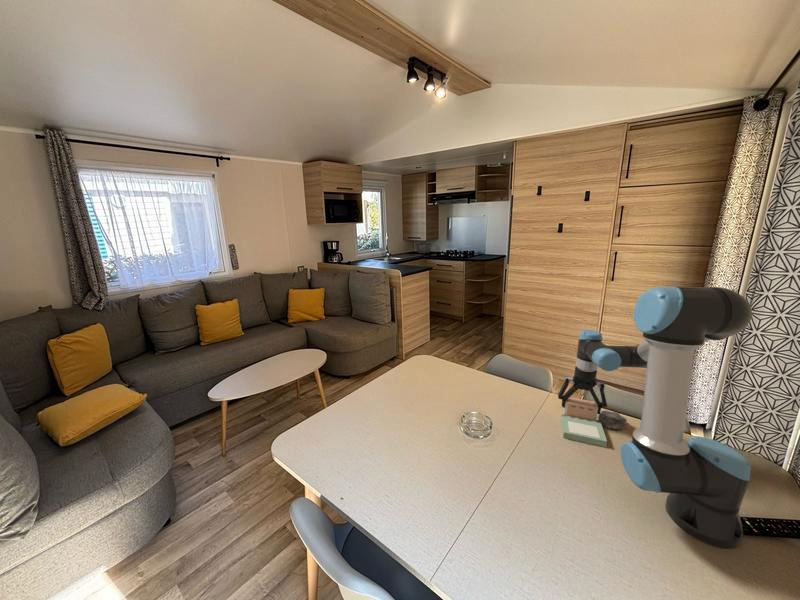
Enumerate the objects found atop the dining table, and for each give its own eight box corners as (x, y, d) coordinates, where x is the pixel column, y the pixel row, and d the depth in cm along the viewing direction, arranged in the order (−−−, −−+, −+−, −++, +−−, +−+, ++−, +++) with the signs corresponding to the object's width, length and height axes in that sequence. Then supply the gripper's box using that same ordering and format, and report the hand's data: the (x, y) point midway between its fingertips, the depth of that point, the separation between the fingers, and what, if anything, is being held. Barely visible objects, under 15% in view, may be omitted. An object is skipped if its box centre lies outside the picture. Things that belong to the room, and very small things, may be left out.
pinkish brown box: (593, 425, 125) (596, 408, 123) (566, 420, 129) (568, 402, 127) (591, 418, 130) (594, 401, 128) (565, 413, 134) (567, 396, 132)
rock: (627, 423, 127) (629, 415, 126) (616, 434, 121) (617, 425, 120) (603, 413, 134) (605, 405, 133) (591, 422, 128) (593, 414, 127)
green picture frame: (606, 447, 114) (607, 441, 113) (563, 437, 119) (563, 431, 118) (599, 427, 124) (600, 422, 124) (560, 419, 130) (561, 414, 129)
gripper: (617, 368, 123) (609, 417, 128) (554, 359, 132) (549, 406, 137) (622, 377, 116) (613, 428, 122) (555, 367, 125) (549, 416, 130)
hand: (579, 416), depth 129 cm, fingers closed on pinkish brown box, 10 cm apart
